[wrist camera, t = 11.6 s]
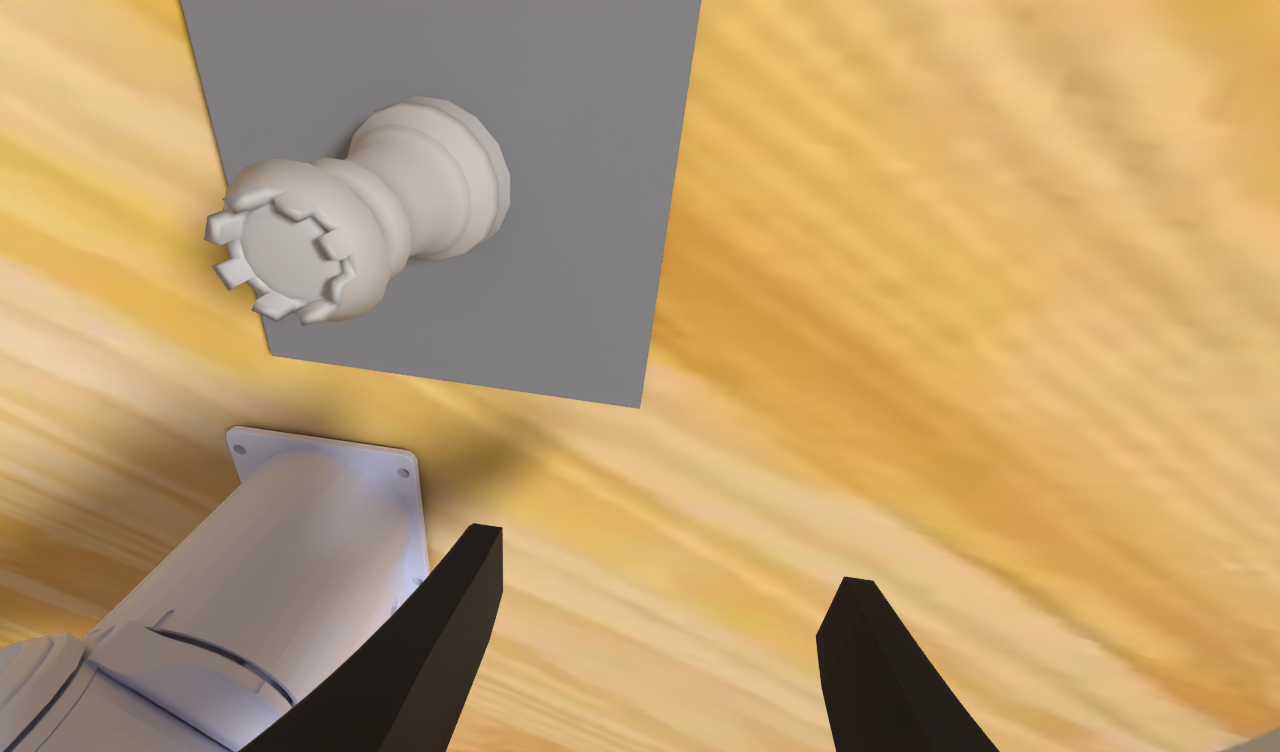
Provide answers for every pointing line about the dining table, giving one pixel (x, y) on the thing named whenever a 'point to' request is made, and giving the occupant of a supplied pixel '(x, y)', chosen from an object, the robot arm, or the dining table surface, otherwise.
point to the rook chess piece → (361, 212)
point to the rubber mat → (533, 152)
